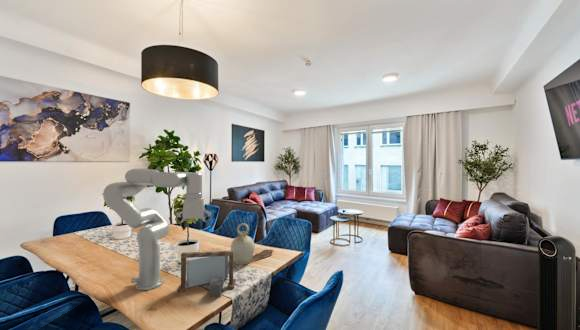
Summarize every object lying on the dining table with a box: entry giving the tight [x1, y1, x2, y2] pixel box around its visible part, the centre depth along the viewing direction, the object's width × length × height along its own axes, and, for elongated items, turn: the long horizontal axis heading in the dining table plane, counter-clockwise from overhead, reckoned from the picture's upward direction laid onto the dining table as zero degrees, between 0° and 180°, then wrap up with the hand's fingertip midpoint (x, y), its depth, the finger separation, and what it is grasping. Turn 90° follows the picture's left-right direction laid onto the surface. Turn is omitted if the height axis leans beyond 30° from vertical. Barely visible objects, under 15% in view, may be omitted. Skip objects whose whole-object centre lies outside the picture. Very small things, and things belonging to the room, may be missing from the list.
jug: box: [230, 222, 255, 265], centre depth 153 cm, size 15×16×25 cm
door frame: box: [176, 250, 237, 293], centre depth 120 cm, size 28×8×18 cm, turn 98°
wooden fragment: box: [250, 249, 274, 264], centre depth 162 cm, size 26×11×1 cm, turn 148°
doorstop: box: [208, 278, 225, 299], centre depth 118 cm, size 5×15×6 cm, turn 9°
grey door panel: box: [186, 256, 229, 289], centre depth 124 cm, size 21×1×14 cm, turn 119°
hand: (194, 229), depth 119 cm, fingers open, 9 cm apart
